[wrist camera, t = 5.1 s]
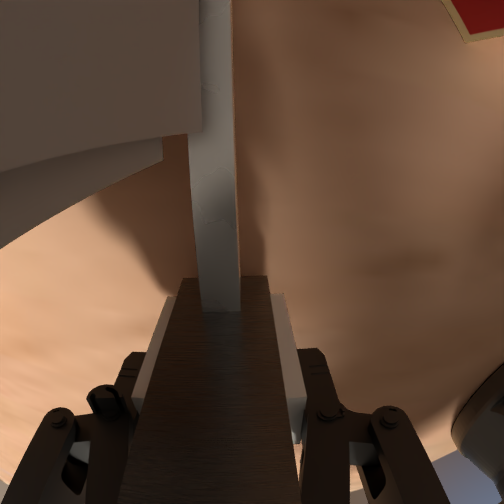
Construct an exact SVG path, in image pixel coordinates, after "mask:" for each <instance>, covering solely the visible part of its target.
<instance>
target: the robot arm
mask: <svg viewBox="0 0 504 504" xmlns="http://www.w3.org/2000/svg"><path fill="white" fill-rule="evenodd" d="M270 297H271V303H272V309H273V316H274V322H275V328H276V335H277V341H278V348H279V354H280V361H281V367H282V374H283V380H284V387H285V393H286V400H287V407H288V413H289V420H290V427H291V434H292V440H293V444H300V441H301V440H302V446H303V448H302V454H301V459H300V463H301V464H300V473H299V489H300V496H301V503H302V504H350V465H356V467H357V470H358V473H359V476H360V479H361V482H362V485H363V488H364V491H365V494H366V497H367V500H368V504H450V502H449V500H448V497H447V495H446V493H445V491H444V489H443V486H442V485H441V482H440V480H439V478H438V476H437V474H436V472H435V470H434V468H433V466H432V463H431V461H430V459H429V457H428V455H427V453H426V451H425V449H424V447H423V445H422V443H421V441H420V439H419V437H418V435H417V433H416V431H415V429H414V428H413V426H412V424H411V422H410V420H409V418H408V416H407V415H406V413H405V412H404V411H403V410H401V409H399V408H398V407H394V406H383V407H380V408H378V409H377V410H376V411H375V412H373V414H363V413H356V412H352V411H350V410H348V409H346V408H345V407H344V405H343V404H341V403H340V401H339V399H338V396H337V393H336V390H335V387H334V384H333V380H332V377H331V374H330V371H329V368H328V366H327V362H326V359H325V356H324V354H323V353H322V352H321V351H320V350H319V349H318V348H308V349H296V345H295V340H294V336H293V332H292V327H291V323H290V319H289V314H288V310H287V306H286V301H285V297H284V293H283V294H270ZM176 298H177V297H167V299H166V302H165V304H164V307H163V310H162V312H161V315H160V317H159V320H158V323H157V325H156V328H155V331H154V333H153V336H152V339H151V342H150V344H149V347H148V350H147V352H132V353H131V354H130V355H129V356H128V357H127V358H126V359H125V360H124V362H123V365H122V367H121V370H120V372H119V374H118V377H117V379H116V382H115V384H114V385H107V384H106V385H100V386H98V387H96V388H94V389H92V390H91V391H90V392H89V393H88V396H87V398H86V399H87V401H88V403H89V405H90V407H91V409H92V411H93V413H92V414H86V415H78V416H74V414H73V413H72V412H71V411H70V410H69V409H67V408H61V407H59V408H55V409H52V410H51V411H49V412H48V413H47V414H46V415H45V416H44V418H43V420H42V422H41V424H40V426H39V427H38V429H37V431H36V433H35V435H34V437H33V439H32V440H31V442H30V444H29V446H28V448H27V450H26V452H25V454H24V456H23V458H22V460H21V462H20V464H19V466H18V468H17V470H16V472H15V474H14V476H13V478H12V480H11V483H10V485H9V487H8V489H7V491H6V494H5V496H4V498H3V500H2V503H1V504H117V500H118V496H119V492H120V488H121V484H122V479H123V475H124V471H125V467H126V464H127V460H128V456H129V452H130V448H131V444H132V441H133V437H134V433H135V430H136V426H137V423H138V419H139V415H140V412H141V408H142V405H143V401H144V398H145V395H146V391H147V388H148V385H149V381H150V378H151V375H152V371H153V368H154V365H155V362H156V359H157V355H158V352H159V349H160V346H161V343H162V340H163V337H164V333H165V330H166V327H167V324H168V321H169V318H170V315H171V312H172V309H173V306H174V303H175V301H176ZM452 439H453V441H454V443H455V445H456V447H457V449H458V450H459V452H460V453H461V455H463V456H464V457H466V458H468V459H470V461H471V462H473V464H474V465H476V466H477V467H478V468H479V469H480V470H481V471H482V472H483V473H484V474H486V475H487V476H488V477H489V478H490V479H491V480H492V481H493V482H494V484H495V486H496V488H497V489H498V492H499V494H500V496H501V498H502V501H501V502H500V503H498V504H504V365H502V366H501V367H500V368H499V369H498V370H497V371H496V372H495V373H494V374H493V375H492V376H491V377H490V378H489V379H488V380H487V381H486V382H485V383H484V384H483V385H482V386H481V387H480V388H479V390H478V391H477V392H476V393H475V394H474V395H473V397H472V398H471V399H470V400H469V401H468V403H467V404H466V405H465V407H464V408H463V410H462V411H461V413H460V414H459V416H458V418H457V419H456V421H455V423H454V426H453V429H452Z"/></svg>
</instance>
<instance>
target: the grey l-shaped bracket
mask: <svg viewBox="0 0 504 504" xmlns="http://www.w3.org/2000/svg"><path fill="white" fill-rule="evenodd" d="M199 47H200V81H201V107H202V128H203V132H196V133H188V152H189V169H190V185H191V199H192V212H193V224H194V236H195V247H196V257H197V267H198V277H199V278H183V280H182V283H181V286H180V289H179V292H178V295H177V298H176V301H175V303H174V306H173V309H172V312H171V315H170V318H169V321H168V324H167V327H166V330H165V333H164V337H163V340H162V343H161V346H160V349H159V352H158V355H157V359H156V362H155V365H154V368H153V371H152V375H151V378H150V381H149V385H148V388H147V391H146V395H145V398H144V401H143V405H142V408H141V412H140V415H139V419H138V423H137V426H136V430H135V433H134V437H133V441H132V444H131V448H130V452H129V456H128V460H127V464H126V467H125V471H124V475H123V479H122V484H121V488H120V492H119V496H118V500H117V504H302V503H301V496H300V489H299V482H298V475H297V468H296V461H295V454H294V447H293V440H292V434H291V427H290V420H289V413H288V407H287V400H286V393H285V387H284V380H283V374H282V367H281V361H280V354H279V348H278V341H277V335H276V328H275V322H274V316H273V309H272V303H271V297H270V291H269V284H268V278H267V276H244V277H241V274H240V250H239V225H238V199H237V171H236V141H235V108H234V71H233V26H232V0H199Z"/></svg>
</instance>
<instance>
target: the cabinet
mask: <svg viewBox="0 0 504 504" xmlns="http://www.w3.org/2000/svg"><path fill="white" fill-rule="evenodd" d="M196 132H203V128H202V107H201V81H200V47H199V0H0V249H1V248H3V247H4V246H6V245H7V244H9V243H10V242H12V241H13V240H15V239H17V238H18V237H20V236H21V235H23V234H25V233H26V232H28V231H29V230H31V229H33V228H34V227H36V226H38V225H39V224H41V223H43V222H44V221H46V220H48V219H49V218H51V217H53V216H54V215H56V214H58V213H60V212H61V211H63V210H65V209H67V208H69V207H70V206H72V205H74V204H76V203H78V202H80V201H81V200H83V199H85V198H87V197H89V196H91V195H93V194H95V193H96V192H98V191H100V190H102V189H104V188H106V187H108V186H110V185H112V184H114V183H116V182H118V181H120V180H122V179H124V178H126V177H128V176H130V175H133V174H135V173H137V172H139V171H141V170H143V169H145V168H148V167H150V166H152V165H154V164H156V163H159V162H161V161H163V147H162V137H163V136H171V135H179V134H187V133H196Z"/></svg>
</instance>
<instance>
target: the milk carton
mask: <svg viewBox="0 0 504 504" xmlns="http://www.w3.org/2000/svg"><path fill="white" fill-rule="evenodd" d="M441 1H442V2H443V4H444V6H445V7H446V9H447V11H448V12H449V14H450V16H451V18H452V19H453V21H454V23H455V25H456V27H457V28H458V30H459V32H460V34H461V36H462V38H463V40H464V42H465V43H469V42H474V41H479V40H484V39H490V38H495V37H501V36H504V0H441Z"/></svg>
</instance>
